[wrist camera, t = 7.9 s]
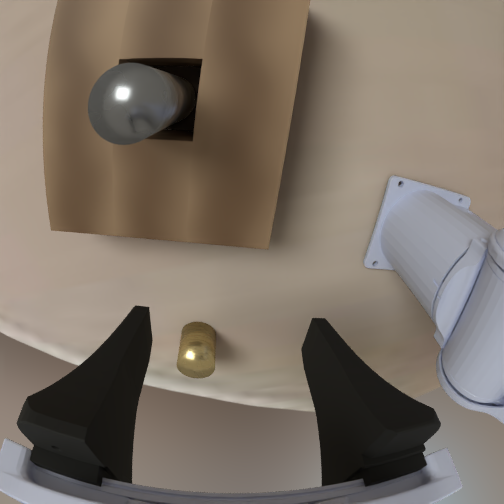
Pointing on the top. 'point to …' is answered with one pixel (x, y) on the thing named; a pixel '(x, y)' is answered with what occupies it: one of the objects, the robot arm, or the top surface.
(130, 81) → the tall pin
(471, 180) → the top surface
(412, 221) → the robot arm
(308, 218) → the top surface
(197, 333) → the short pin
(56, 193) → the hole block
